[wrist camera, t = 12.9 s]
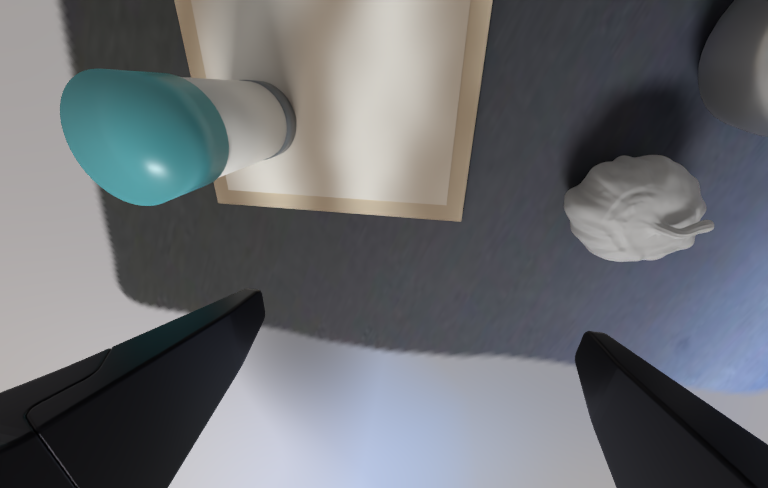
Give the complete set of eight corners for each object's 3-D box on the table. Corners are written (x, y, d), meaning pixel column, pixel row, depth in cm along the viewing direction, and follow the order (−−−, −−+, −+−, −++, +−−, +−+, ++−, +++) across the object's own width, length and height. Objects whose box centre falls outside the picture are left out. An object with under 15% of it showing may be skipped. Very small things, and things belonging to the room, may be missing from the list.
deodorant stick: (293, 80, 17) (163, 70, 9) (300, 159, 19) (198, 210, 11) (221, 78, 18) (36, 67, 9) (235, 155, 19) (90, 201, 11)
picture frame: (537, -325, 11) (542, -346, 10) (460, 218, 20) (461, 222, 19) (124, -272, 13) (110, -288, 12) (222, 200, 22) (217, 203, 21)
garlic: (693, 164, 17) (793, 192, 12) (631, 251, 19) (694, 302, 14) (582, 133, 17) (638, 149, 12) (535, 223, 19) (567, 265, 14)
